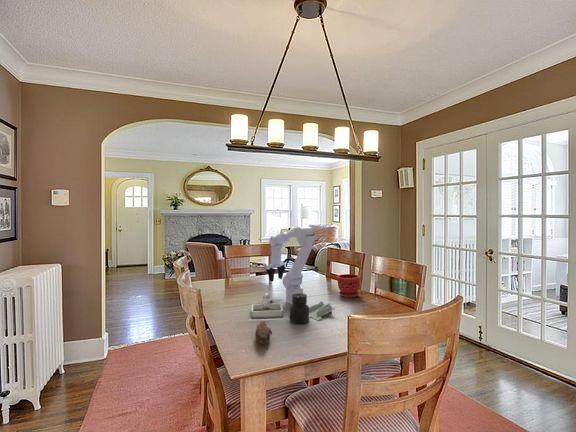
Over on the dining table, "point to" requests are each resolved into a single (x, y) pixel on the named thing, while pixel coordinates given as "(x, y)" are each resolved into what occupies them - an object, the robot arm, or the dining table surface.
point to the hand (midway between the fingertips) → (275, 279)
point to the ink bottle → (299, 309)
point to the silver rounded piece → (266, 302)
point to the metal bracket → (320, 310)
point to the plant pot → (348, 285)
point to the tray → (267, 313)
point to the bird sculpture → (263, 333)
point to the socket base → (270, 302)
